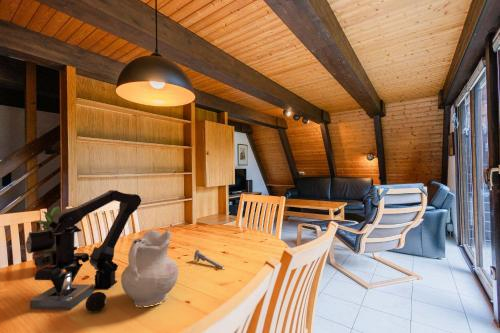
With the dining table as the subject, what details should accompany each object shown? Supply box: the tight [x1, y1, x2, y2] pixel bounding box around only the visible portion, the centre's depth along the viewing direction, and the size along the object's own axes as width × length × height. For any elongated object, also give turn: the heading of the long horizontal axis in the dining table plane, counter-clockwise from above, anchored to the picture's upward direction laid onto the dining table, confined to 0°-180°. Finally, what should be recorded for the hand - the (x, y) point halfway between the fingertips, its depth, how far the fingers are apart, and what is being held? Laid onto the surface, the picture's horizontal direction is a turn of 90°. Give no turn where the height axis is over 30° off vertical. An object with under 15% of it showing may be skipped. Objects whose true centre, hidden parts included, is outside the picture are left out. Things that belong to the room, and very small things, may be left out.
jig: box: [29, 283, 95, 311], centre depth 90 cm, size 14×12×3 cm
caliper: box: [193, 249, 225, 269], centre depth 124 cm, size 20×1×6 cm, turn 56°
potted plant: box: [31, 204, 65, 272], centre depth 117 cm, size 15×15×30 cm
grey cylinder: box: [56, 270, 73, 296], centre depth 90 cm, size 4×4×7 cm
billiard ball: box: [85, 291, 108, 313], centre depth 83 cm, size 6×6×6 cm
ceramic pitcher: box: [120, 229, 179, 308], centre depth 90 cm, size 22×20×25 cm
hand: (64, 289), depth 90 cm, fingers closed on grey cylinder, 4 cm apart
